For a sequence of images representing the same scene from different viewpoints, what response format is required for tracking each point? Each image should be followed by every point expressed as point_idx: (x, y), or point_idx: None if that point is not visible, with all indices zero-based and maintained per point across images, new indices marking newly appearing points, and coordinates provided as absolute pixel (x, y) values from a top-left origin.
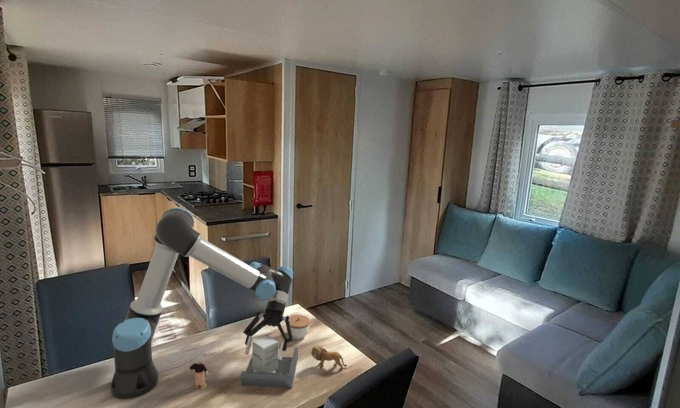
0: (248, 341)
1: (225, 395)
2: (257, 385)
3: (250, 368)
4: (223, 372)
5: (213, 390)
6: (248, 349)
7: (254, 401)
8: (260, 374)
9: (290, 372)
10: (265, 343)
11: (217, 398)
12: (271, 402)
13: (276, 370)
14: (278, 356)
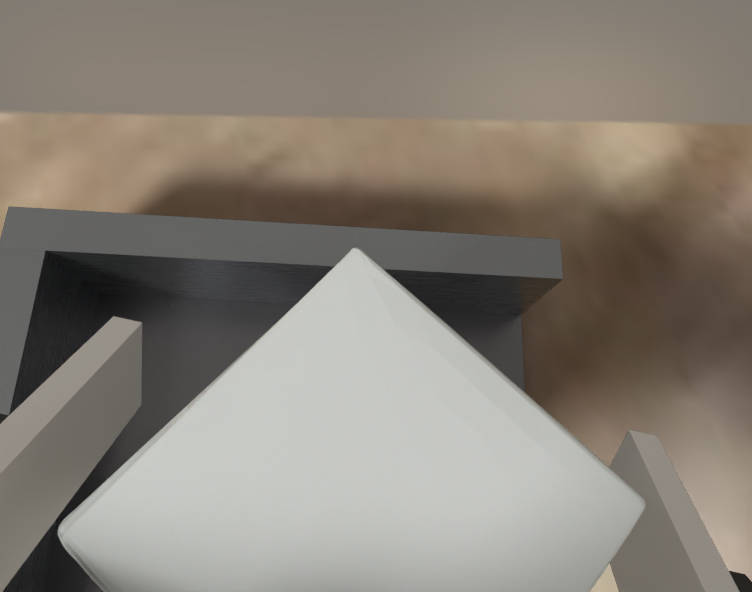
0: (721, 587)
1: (594, 183)
2: None
3: None
4: (729, 453)
5: (703, 232)
6: None
7: (366, 126)
8: (357, 228)
9: (24, 263)
10: (345, 409)
11: (637, 156)
12: (239, 116)
13: None
14: (124, 339)
